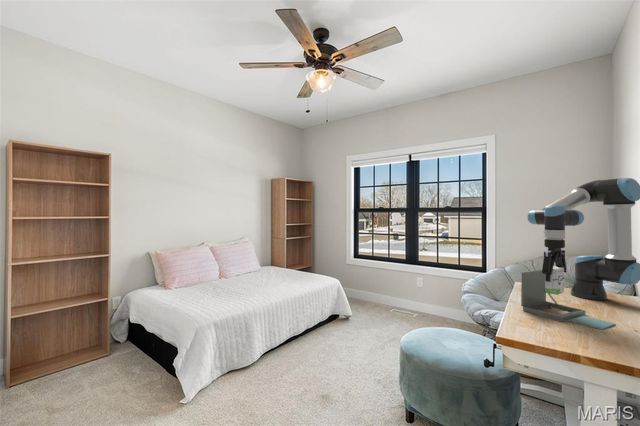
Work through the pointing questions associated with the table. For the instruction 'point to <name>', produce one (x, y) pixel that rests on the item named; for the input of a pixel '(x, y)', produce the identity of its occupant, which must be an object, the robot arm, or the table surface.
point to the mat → (592, 322)
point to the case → (542, 298)
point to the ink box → (557, 281)
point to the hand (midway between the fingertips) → (554, 287)
